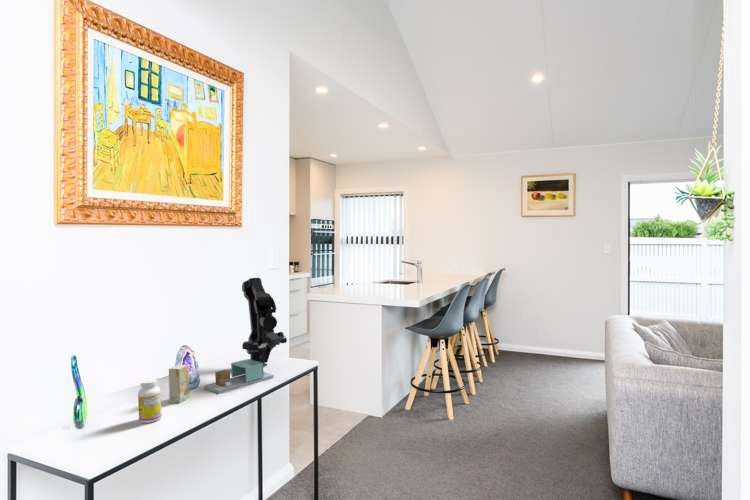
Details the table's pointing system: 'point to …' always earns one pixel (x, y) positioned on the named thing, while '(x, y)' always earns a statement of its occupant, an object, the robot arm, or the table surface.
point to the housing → (247, 369)
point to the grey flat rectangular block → (236, 383)
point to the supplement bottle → (149, 401)
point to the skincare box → (178, 383)
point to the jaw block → (222, 377)
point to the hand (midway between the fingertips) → (265, 362)
